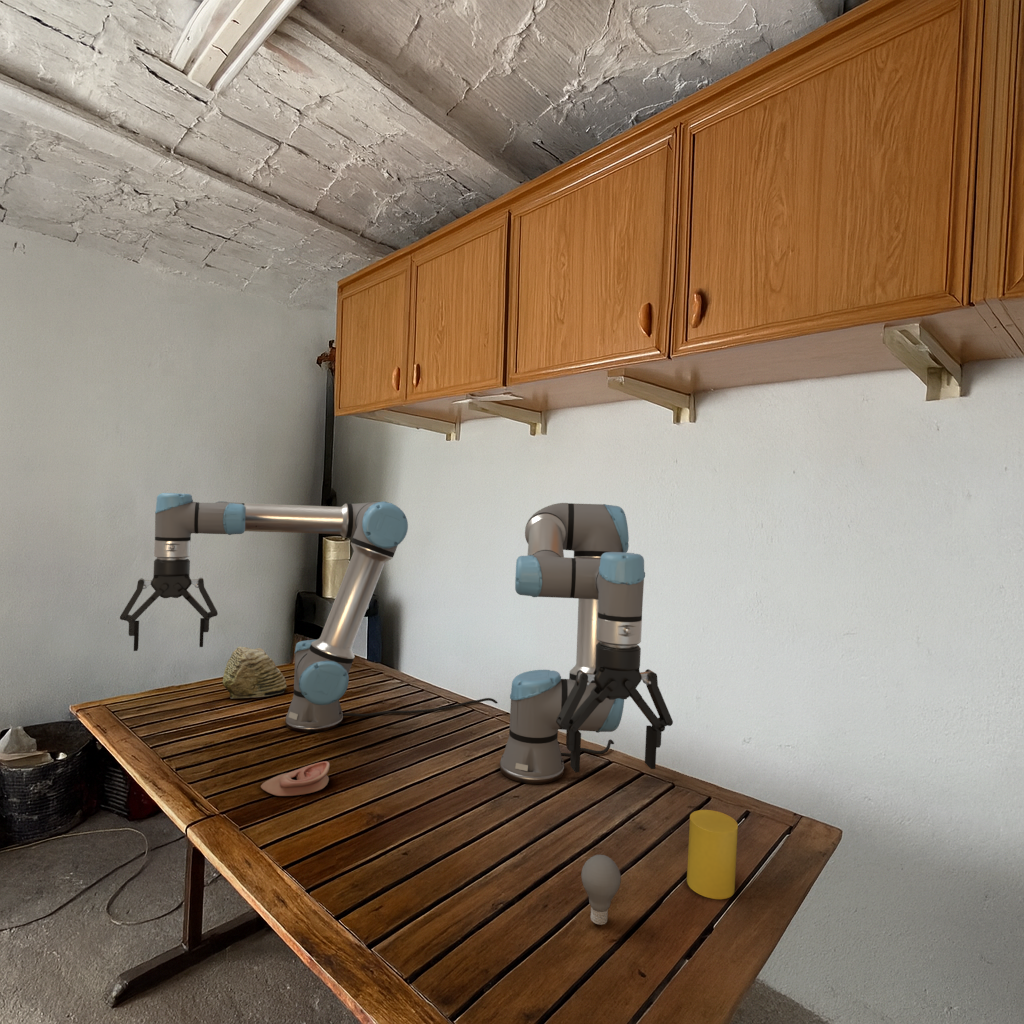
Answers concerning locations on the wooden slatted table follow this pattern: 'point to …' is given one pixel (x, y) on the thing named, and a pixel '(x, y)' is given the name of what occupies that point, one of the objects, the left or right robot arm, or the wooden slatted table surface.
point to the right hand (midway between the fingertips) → (612, 767)
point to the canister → (712, 854)
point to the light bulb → (600, 885)
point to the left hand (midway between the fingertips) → (169, 647)
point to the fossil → (252, 674)
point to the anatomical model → (299, 780)
